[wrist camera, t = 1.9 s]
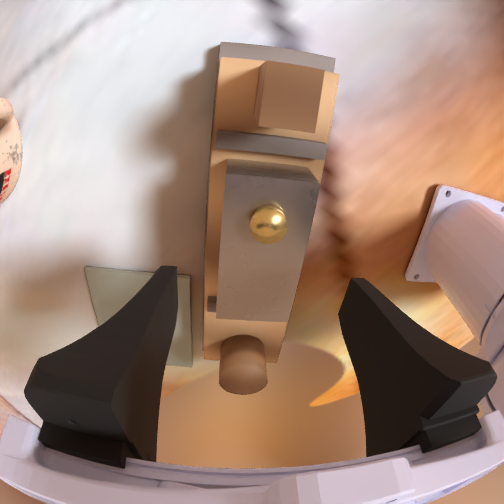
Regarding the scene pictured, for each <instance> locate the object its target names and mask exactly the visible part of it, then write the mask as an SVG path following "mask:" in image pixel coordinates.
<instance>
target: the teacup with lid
mask: <svg viewBox="0 0 504 504" xmlns="http://www.w3.org/2000/svg"><path fill="white" fill-rule="evenodd" d="M21 165H22V140H21V134H20V129H19V126H18V123H17V120H16V118H15V115H14V113H13V108H12V105H11V103H10V101H9V100H8V99H6V98H0V203H1V202H2V201H3V200H5V199H6V198H7V197H8V196H9V195H10V193H11V192H12V191H13V189H14V187H15V185H16V183H17V181H18V178H19V175H20V170H21Z"/></svg>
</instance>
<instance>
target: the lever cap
mask: <svg viewBox="0 0 504 504" xmlns="http://www.w3.org/2000/svg"><path fill="white" fill-rule="evenodd" d="M319 189H320V182H319V181H318V180H317V178H316V177H315V176H314V174H313V173H312V172H311V170H310V169H309V168H308V167H305V166H297V165H289V164H281V163H272V162H262V161H252V160H241V159H230V158H228V160H227V167H226V175H225V187H224V199H223V212H222V225H221V239H220V254H219V270H218V286H217V304H216V319H229V320H246V321H267V322H288V321H289V317H290V314H291V310H292V306H293V302H294V298H295V294H296V290H297V286H298V282H299V278H300V274H301V270H302V265H303V261H304V257H305V253H306V248H307V244H308V240H309V235H310V231H311V226H312V222H313V217H314V213H315V208H316V203H317V198H318V194H319Z"/></svg>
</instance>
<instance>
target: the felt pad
mask: <svg viewBox="0 0 504 504" xmlns="http://www.w3.org/2000/svg"><path fill="white" fill-rule="evenodd" d="M85 273H86V278H87V282H88V286H89V290H90V294H91V298H92V302H93V306H94V310H95V313H96V317H97V320H98V324H99V326H101V325H102V324H103V323H105V322H106V321H107V320H108V319H110V318H111V317H112V316H113V315H114V314H116V313H117V312H118V311H119V310H120V309H121V308H122V307H123V306H124V305H125V304H126V303H128V302H129V301H130V300H131V299H132V298H133V297H134V296H135V295H136V294H137V292H138V291H139V290H140V289H141V288H142V287H143V286H144V285H145V284H146V283H147V282H148V280H149V279H150V278H151V277H152V276H153V275H154V274H155V273H152V272H141V271H130V270H120V269H109V268H99V267H89V266H86V268H85ZM177 285H178V313H177V320H176V327H175V331H174V335H173V339H172V343H171V346H170V350H169V354H168V358H167V362H166V365H174V366H184V367H192V364H193V363H192V338H191V297H190V276H188V275H177Z"/></svg>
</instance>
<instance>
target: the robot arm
mask: <svg viewBox="0 0 504 504" xmlns="http://www.w3.org/2000/svg"><path fill="white" fill-rule="evenodd" d="M447 191H448V193H447V194H446V192H447ZM416 274H417V275H416ZM415 275H416V276H415ZM405 278H406V280H407V281H413V282H437V284H438V285H439V286H440V288H441V289H442V290H443V292H444V293H445V294H446V296H447V297H448V299H449V300H450V301H451V303H452V304H453V306H454V307H455V308H456V310H457V311H458V313H459V314H460V315H461V317H462V318H463V320H464V321H465V323H466V324H467V326H468V327H469V329H470V330H471V332H472V333H473V335H474V336H475V338H476V339H477V341H478V343H479V344H480V346H481V349H480V351H479V353H478V354H477V355H476V357H475V356H472V355H470V354H468V353H466V352H463V351H461V350H459V349H457V348H455V347H453V346H451V345H449V344H448V343H446V342H444V341H443V340H441V339H439V338H438V337H436V336H434V335H433V334H431V333H430V332H428V331H427V330H426V329H424V328H423V327H421V326H420V325H419V324H417V323H416V322H415V321H413V320H412V319H411V318H410V317H408V316H407V315H406V314H405V313H404V312H402V311H401V310H400V309H399V308H398V307H397V306H395V305H394V304H393V303H392V302H391V301H390V300H389V299H388V298H386V297H385V296H384V295H383V294H382V293H381V292H380V291H379V290H378V289H376V288H375V287H374V286H373V285H372V284H371V283H369V282H368V281H367V280H366V279H364V278H351V280H350V283H349V286H348V288H347V291H346V294H345V297H344V300H343V302H342V305H341V308H340V310H339V313H338V315H339V320H340V326H341V330H342V335H343V338H344V341H345V344H346V347H347V350H348V352H349V355H350V358H351V361H352V364H353V367H354V370H355V373H356V376H357V380H358V384H359V389H360V394H361V399H362V406H363V413H364V421H365V433H366V456H367V457H365V458H360V459H354V460H348V461H342V462H335V463H327V464H319V465H310V466H299V467H285V468H265V469H264V468H261V469H232V468H231V469H230V468H208V467H207V468H206V467H194V466H183V465H173V464H165V463H158V462H156V451H157V431H158V417H159V406H160V397H161V388H162V380H163V375H164V370H165V366H166V362H167V358H168V354H169V350H170V346H171V343H172V339H173V335H174V331H175V327H176V320H177V313H178V285H177V267H174V266H161V267H160V268H159V269H158V270H157V271H156V272H155V274H154V275H153V276H152V277H151V278H150V279H149V280H148V282H147V283H146V284H145V285H144V286H143V287H142V288H141V289H140V290H139V291H138V292H137V294H136V295H135V296H134V297H133V298H132V299H131V300H130V301H129V302H128V303H126V304H125V305H124V306H123V307H122V308H121V309H120V310H119V311H118V312H117V313H116V314H114V315H113V316H112V317H111V318H110V319H108V320H107V321H106V322H105V323H103V324H102V325H101V326H99V327H98V328H96V329H95V330H93V331H92V332H90V333H89V334H87V335H86V336H84V337H82V338H81V339H79V340H77V341H75V342H73V343H72V344H70V345H68V346H66V347H64V348H62V349H60V350H57V351H55V352H53V353H51V354H48V355H46V356H44V357H41V358H39V359H38V361H37V363H36V364H35V366H34V368H33V370H32V373H31V375H30V377H29V380H28V382H27V384H26V387H25V389H24V394H25V397H26V399H27V401H28V402H29V404H30V405H31V406H32V408H33V409H34V410H35V411H36V413H37V414H38V415H39V416H40V417H41V419H42V420H43V421H44V422H43V425H42V428H40V427H38V426H37V425H35V424H33V423H31V422H28V421H25V420H23V419H20V418H18V417H15V416H13V415H8V417H7V420H6V423H5V425H4V428H3V431H2V434H1V437H0V479H1V480H3V481H5V482H6V483H8V484H9V485H11V486H13V487H14V488H16V489H18V490H19V491H21V492H23V493H25V494H26V495H29V496H31V497H33V498H35V499H38V500H40V501H42V502H45V503H47V504H427V503H430V502H432V501H434V500H437V499H439V498H441V497H443V496H445V495H448V494H450V493H452V492H454V491H456V490H458V489H460V488H462V487H464V486H466V485H468V484H470V483H472V482H473V481H475V480H477V479H479V478H481V477H483V476H484V475H486V474H487V473H489V472H490V471H492V470H493V469H495V468H496V467H498V466H499V465H501V464H502V463H503V462H504V202H501V201H498V200H495V199H492V198H488V197H485V196H482V195H479V194H475V193H472V192H469V191H465V190H462V189H458V188H455V187H451V186H447V185H443V184H440V185H438V186H437V188H436V190H435V193H434V197H433V200H432V203H431V206H430V209H429V212H428V215H427V218H426V221H425V224H424V226H423V229H422V232H421V235H420V237H419V240H418V243H417V245H416V248H415V251H414V253H413V256H412V258H411V261H410V263H409V265H408V268H407V270H406V273H405ZM479 402H480V404H481V406H482V409H483V411H484V413H485V415H484V416H483V417H481V418H479V419H478V418H477V415H476V414H477V413H478V412H479V408H478V406H477V404H478V403H479Z"/></svg>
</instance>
